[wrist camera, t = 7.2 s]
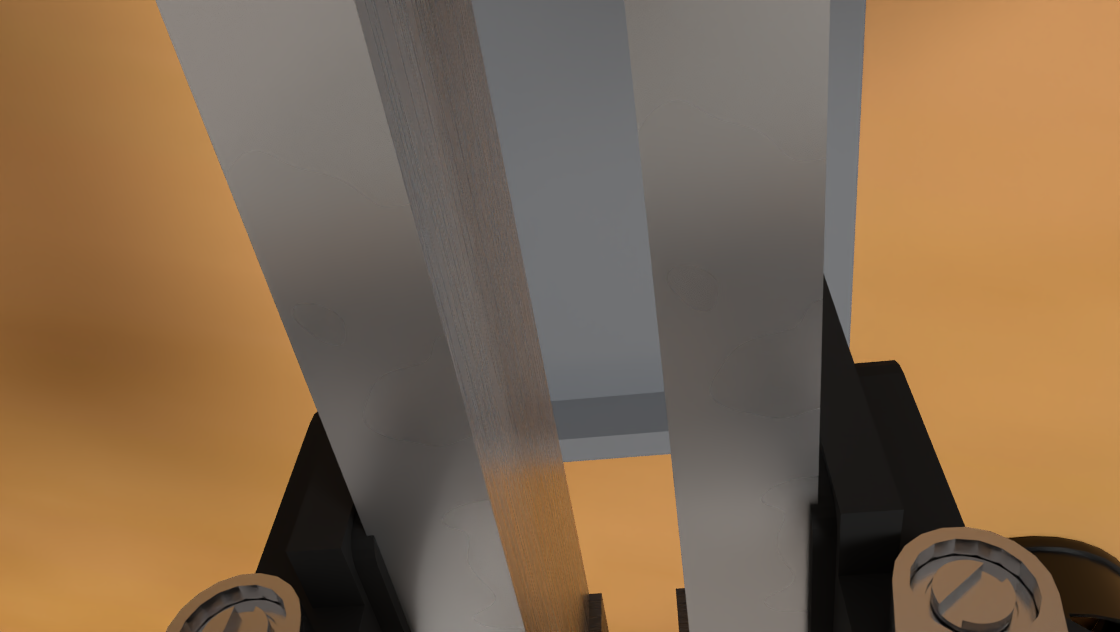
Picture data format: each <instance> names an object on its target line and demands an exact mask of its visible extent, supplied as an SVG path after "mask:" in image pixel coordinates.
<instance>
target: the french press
mask: <svg viewBox="0 0 1120 632" xmlns="http://www.w3.org/2000/svg"><path fill="white" fill-rule="evenodd" d="M1010 540H1013V541H1015V542H1016V543H1018V544H1019V545H1020V546H1022V547H1023V548H1025V549H1026V550H1028V551H1029V552H1030V553H1032V554H1033V555H1035V556H1036V557H1037V558H1038V560H1039V561H1040V562H1041V563H1042V564H1043V565H1044V567H1045V568H1046V569H1047V570H1048V571H1049V572H1050V573H1051V575H1052V578H1053V580H1054V582H1055V585H1056V587H1057V589H1058V592H1059V594H1060V598H1061V602H1062V607H1063V611H1064V616H1065V617H1066V618H1068V619H1070V620H1071V618H1070V617H1091V618H1097V619H1099V620H1098V622H1097V624H1096V625H1095V627H1094V628H1093V629H1092V630H1091V631H1092V632H1120V562H1119V561H1118V560H1117V559H1116V558H1115V557H1113V556H1112V555H1110V554H1108V553H1107V552H1105V551H1104V550H1102V549H1100V548H1097V547H1095V546H1092V545H1089V544H1086V543H1084V542H1080V541H1075V540H1070V539H1064V538H1057V537H1024V538H1013V539H1010ZM1071 621H1072V620H1071Z"/></svg>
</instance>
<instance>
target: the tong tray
mask: <svg viewBox="0 0 1120 632" xmlns="http://www.w3.org/2000/svg"><path fill="white" fill-rule="evenodd" d="M471 1H472V6H473V11H474V16H475V21H476V26H477V31H478V36H479V41H480V46H481V51H482V56H483V61H484V66H485V71H486V76H487V81H488V86H489V91H490V96H491V102H492V107H493V112H494V117H495V122H496V127H497V132H498V137H499V142H500V147H501V152H502V157H503V162H504V167H505V172H506V177H507V182H508V187H509V192H510V197H511V202H512V207H513V212H514V217H515V222H516V228H517V233H518V238H519V243H520V248H521V253H522V258H523V263H524V268H525V273H526V278H527V283H528V288H529V293H530V298H531V303H532V308H533V313H534V318H535V323H536V328H537V333H538V338H539V343H540V349H541V354H542V359H543V364H544V369H545V374H546V379H547V384H548V389H549V394H550V399H551V404H552V409H553V414H554V419H555V424H556V429H557V434H558V439H559V444H560V449H561V454H562V459H563V462H571V461H584V460H598V459H611V458H624V457H637V456H650V455H663V454H671V449H670V439H669V429H668V420H667V410H666V400H665V391H664V381H663V371H662V362H661V352H660V342H659V333H658V323H657V313H656V304H655V294H654V284H653V275H652V265H651V255H650V246H649V236H648V226H647V217H646V207H645V197H644V188H643V178H642V168H641V159H640V149H639V139H638V130H637V120H636V110H635V101H634V91H633V81H632V72H631V62H630V52H629V43H628V33H627V23H626V14H625V4H624V0H471ZM865 11H866V0H830V28H829V69H828V109H827V150H826V190H825V231H824V271H823V273H824V276H825V279H826V282H827V285H828V288H829V291H830V294H831V297H832V300H833V302H834V305H835V308H836V311H837V314H838V317H839V320H840V323H841V326H842V329H843V332H844V335H845V338H846V341H847V344H848V347H849V345H850V324H851V304H852V283H853V262H854V241H855V220H856V199H857V178H858V157H859V136H860V115H861V94H862V73H863V53H864V32H865Z"/></svg>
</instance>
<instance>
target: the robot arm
mask: <svg viewBox="0 0 1120 632" xmlns="http://www.w3.org/2000/svg"><path fill="white" fill-rule="evenodd" d="M166 632H411V629H410V627H409V624H408V622H407V619H406V617H405V614H404V611H403V609H402V606H401V604H400V601H399V599H398V596H397V593H396V591H395V588H394V586H393V583H392V580H391V578H390V575H389V573H388V570H387V568H386V565H385V562H384V560H383V557H382V555H381V552H380V550H379V547H378V544H377V542H376V539H375V537H374V535H369V536H367V535H366V532H365V530H364V527H363V525H362V522H361V520H360V517H359V515H358V512H357V510H356V507H355V504H354V502H353V499H352V497H351V494H350V492H349V489H348V487H347V484H346V482H345V479H344V477H343V474H342V472H341V469H340V466H339V464H338V461H337V459H336V456H335V454H334V451H333V449H332V446H331V444H330V441H329V439H328V436H327V434H326V431H325V429H324V426H323V423H322V421H321V418H320V416H319V413H318V412H317V413H315V414H314V416H313V418H312V420H311V422H310V425H309V427H308V430H307V433H306V436H305V438H304V441H303V444H302V447H301V449H300V452H299V455H298V458H297V460H296V463H295V466H294V469H293V471H292V474H291V477H290V480H289V482H288V485H287V488H286V491H285V493H284V496H283V499H282V502H281V504H280V507H279V510H278V513H277V515H276V518H275V521H274V524H273V526H272V529H271V532H270V535H269V537H268V540H267V543H266V546H265V548H264V551H263V554H262V557H261V559H260V562H259V565H258V568H257V570H256V573H255V574H244V575H238V576H235V577H232V578H229V579H226V580H223V581H220V582H218V583H216V584H214V585H213V586H211V587H209V588H208V589H206V590H204V591H202V592H201V593H199V594H198V595H197V596H195V597H194V598H193V599H192V600H191V601H190V602H189V603H188V604H186V605H185V606H184V607H183V608H182V609H181V610H180V611H179V613H178V614H177V615H176V617H175V618H174V620H173V621H172V622H171V624H170V625H169V626H168V628H167V631H166ZM808 632H1092V631H1090V630H1088V629H1086V628H1084V627H1082V626H1081V625H1079V624H1077V623H1075V622H1073V621H1071V620H1070V619H1068V618H1066V617H1065V616H1064V611H1063V607H1062V602H1061V598H1060V594H1059V592H1058V589H1057V587H1056V585H1055V582H1054V580H1053V578H1052V575H1051V573H1050V572H1049V571H1048V570H1047V569H1046V568H1045V567H1044V565H1043V564H1042V563H1041V562H1040V561H1039V560H1038V558H1037V557H1036V556H1035V555H1033V554H1032V553H1030V552H1029V551H1028V550H1026V549H1025V548H1023V547H1022V546H1020V545H1019V544H1018V543H1016V542H1015V541H1013V540H1010V539H1008V538H1005V537H1003V536H1000V535H998V534H996V533H993V532H991V531H985V530H980V529H974V528H969V527H965V525H964V523H963V520H962V518H961V515H960V513H959V510H958V508H957V505H956V503H955V500H954V498H953V495H952V493H951V490H950V488H949V485H948V483H947V480H946V478H945V475H944V473H943V470H942V468H941V465H940V463H939V460H938V458H937V455H936V453H935V450H934V448H933V445H932V443H931V440H930V438H929V435H928V433H927V430H926V428H925V425H924V423H923V420H922V418H921V415H920V413H919V410H918V408H917V405H916V403H915V400H914V398H913V395H912V393H911V390H910V388H909V385H908V383H907V380H906V378H905V375H904V373H903V371H902V369H901V367H900V365H899V364H898V363H897V362H896V361H895V360H891V361H880V362H868V363H856V364H854V361H853V358H852V356H851V353H850V350H849V347H848V344H847V341H846V338H845V335H844V332H843V329H842V326H841V323H840V320H839V317H838V314H837V311H836V308H835V305H834V302H833V300H832V297H831V294H830V291H829V288H828V285H827V282H826V279H825V276H824V273H823V311H822V352H821V392H820V433H819V473H818V504H814V505H810V538H809V594H808Z"/></svg>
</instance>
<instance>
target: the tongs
mask: <svg viewBox="0 0 1120 632" xmlns="http://www.w3.org/2000/svg"><path fill="white" fill-rule="evenodd" d="M156 3H157V6H158V8H159V11H160V13H161V16H162V18H163V21H164V23H165V26H166V28H167V31H168V33H169V36H170V38H171V41H172V44H173V46H174V49H175V51H176V54H177V56H178V59H179V61H180V64H181V66H182V69H183V71H184V74H185V76H186V79H187V82H188V84H189V87H190V89H191V92H192V94H193V97H194V99H195V102H196V104H197V107H198V109H199V112H200V114H201V117H202V120H203V122H204V125H205V127H206V130H207V132H208V135H209V137H210V140H211V142H212V145H213V147H214V150H215V152H216V155H217V157H218V160H219V163H220V165H221V168H222V170H223V173H224V175H225V178H226V180H227V183H228V185H229V188H230V190H231V193H232V195H233V198H234V201H235V203H236V206H237V208H238V211H239V213H240V216H241V218H242V221H243V223H244V226H245V228H246V231H247V233H248V236H249V239H250V241H251V244H252V246H253V249H254V251H255V254H256V256H257V259H258V261H259V264H260V266H261V269H262V271H263V274H264V277H265V279H266V282H267V284H268V287H269V289H270V292H271V294H272V297H273V299H274V302H275V304H276V307H277V309H278V312H279V315H280V317H281V320H282V322H283V325H284V327H285V330H286V332H287V335H288V337H289V340H290V342H291V345H292V347H293V350H294V353H295V355H296V358H297V360H298V363H299V365H300V368H301V370H302V373H303V375H304V378H305V380H306V383H307V385H308V388H309V391H310V393H311V396H312V398H313V401H314V403H315V406H316V408H317V411H318V413H319V416H320V418H321V421H322V423H323V426H324V429H325V431H326V434H327V436H328V439H329V441H330V444H331V446H332V449H333V451H334V454H335V456H336V459H337V461H338V464H339V466H340V469H341V472H342V474H343V477H344V479H345V482H346V484H347V487H348V489H349V492H350V494H351V497H352V499H353V502H354V504H355V507H356V510H357V512H358V515H359V517H360V520H361V522H362V525H363V527H364V530H365V532H366V535H367V536H369V535H374V537H375V539H376V542H377V544H378V547H379V550H380V552H381V555H382V557H383V560H384V562H385V565H386V568H387V570H388V573H389V575H390V578H391V580H392V583H393V586H394V588H395V591H396V593H397V596H398V599H399V601H400V604H401V606H402V609H403V611H404V614H405V617H406V619H407V622H408V624H409V627H410V629H411V632H609V631H608V626H607V620H606V615H605V610H604V604H603V599H602V593H598V594H589V591H588V585H587V580H586V575H585V570H584V565H583V560H582V555H581V550H580V545H579V540H578V535H577V530H576V525H575V520H574V515H573V510H572V505H571V500H570V495H569V490H568V485H567V480H566V475H565V470H564V464H563V459H562V454H561V449H560V444H559V439H558V434H557V429H556V424H555V419H554V414H553V409H552V404H551V399H550V394H549V389H548V384H547V379H546V374H545V369H544V364H543V359H542V354H541V349H540V343H539V338H538V333H537V328H536V323H535V318H534V313H533V308H532V303H531V298H530V293H529V288H528V283H527V278H526V273H525V268H524V263H523V258H522V253H521V248H520V243H519V238H518V233H517V228H516V222H515V217H514V212H513V207H512V202H511V197H510V192H509V187H508V182H507V177H506V172H505V167H504V162H503V157H502V152H501V147H500V142H499V137H498V132H497V127H496V122H495V117H494V112H493V107H492V102H491V96H490V91H489V86H488V81H487V76H486V71H485V66H484V61H483V56H482V51H481V46H480V41H479V36H478V31H477V26H476V21H475V16H474V11H473V6H472V1H471V0H156ZM624 4H625V14H626V23H627V33H628V43H629V52H630V62H631V72H632V81H633V91H634V101H635V110H636V120H637V130H638V139H639V149H640V159H641V168H642V178H643V188H644V197H645V207H646V217H647V226H648V236H649V246H650V255H651V265H652V275H653V284H654V294H655V304H656V313H657V323H658V333H659V342H660V352H661V362H662V371H663V381H664V391H665V400H666V410H667V420H668V429H669V439H670V449H671V459H672V468H673V478H674V487H675V497H676V507H677V517H678V526H679V536H680V546H681V555H682V565H683V575H684V584H685V588H681V589H676V596H677V609H678V622H679V632H808V594H809V538H810V505H814V504H818V473H819V433H820V392H821V352H822V311H823V271H824V231H825V190H826V150H827V109H828V69H829V28H830V0H624Z"/></svg>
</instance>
